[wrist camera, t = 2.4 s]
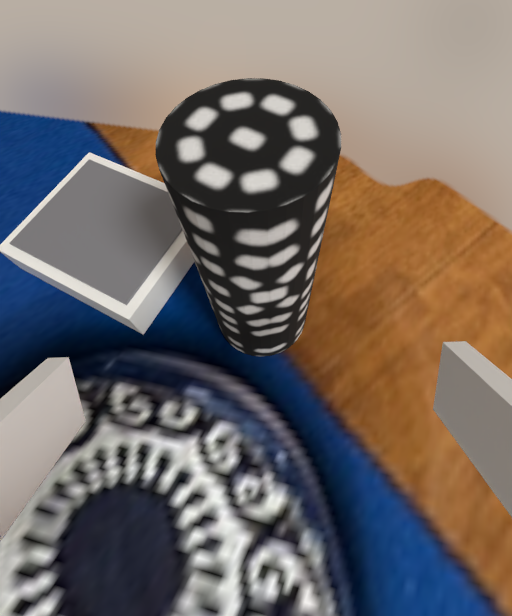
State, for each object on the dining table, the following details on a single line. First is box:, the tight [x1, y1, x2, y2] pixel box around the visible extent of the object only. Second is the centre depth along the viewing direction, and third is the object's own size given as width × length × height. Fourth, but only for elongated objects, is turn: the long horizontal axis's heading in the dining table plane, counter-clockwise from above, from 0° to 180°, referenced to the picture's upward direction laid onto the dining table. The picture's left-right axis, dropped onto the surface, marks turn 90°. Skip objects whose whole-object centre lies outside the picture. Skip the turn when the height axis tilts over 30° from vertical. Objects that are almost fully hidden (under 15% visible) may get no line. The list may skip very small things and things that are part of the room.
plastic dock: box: [0, 153, 195, 335], centre depth 36 cm, size 16×14×4 cm
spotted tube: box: [156, 78, 341, 356], centre depth 25 cm, size 8×8×20 cm
